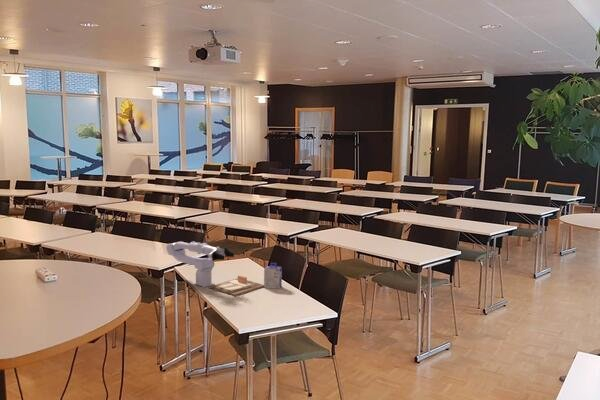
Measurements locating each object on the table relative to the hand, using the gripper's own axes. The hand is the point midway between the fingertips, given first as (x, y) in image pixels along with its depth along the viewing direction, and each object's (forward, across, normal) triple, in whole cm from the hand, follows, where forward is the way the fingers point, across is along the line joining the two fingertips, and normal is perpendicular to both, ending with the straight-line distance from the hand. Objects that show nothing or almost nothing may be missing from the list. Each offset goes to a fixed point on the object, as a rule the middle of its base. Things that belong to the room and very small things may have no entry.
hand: (228, 256), depth 284 cm
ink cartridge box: (+15, +22, +21) cm, 34 cm away
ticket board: (0, +8, +21) cm, 22 cm away
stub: (0, +10, +20) cm, 22 cm away
